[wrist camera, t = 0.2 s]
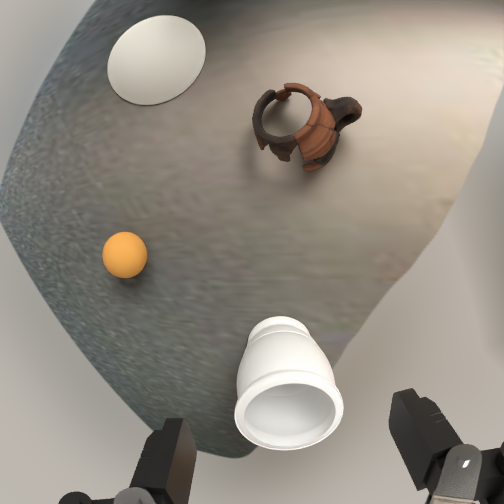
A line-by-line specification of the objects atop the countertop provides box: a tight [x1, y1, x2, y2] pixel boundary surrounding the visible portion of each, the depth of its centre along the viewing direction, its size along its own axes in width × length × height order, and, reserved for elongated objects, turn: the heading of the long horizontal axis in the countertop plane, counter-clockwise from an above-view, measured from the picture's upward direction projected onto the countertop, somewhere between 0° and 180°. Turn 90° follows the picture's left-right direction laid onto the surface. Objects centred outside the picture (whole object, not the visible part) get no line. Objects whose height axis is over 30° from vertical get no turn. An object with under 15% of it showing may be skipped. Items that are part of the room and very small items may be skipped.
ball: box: [103, 232, 147, 278], centre depth 36 cm, size 6×6×6 cm
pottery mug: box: [252, 83, 362, 172], centre depth 33 cm, size 12×9×8 cm
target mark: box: [108, 15, 206, 105], centre depth 33 cm, size 13×13×1 cm
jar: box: [235, 316, 344, 450], centre depth 34 cm, size 11×10×15 cm
